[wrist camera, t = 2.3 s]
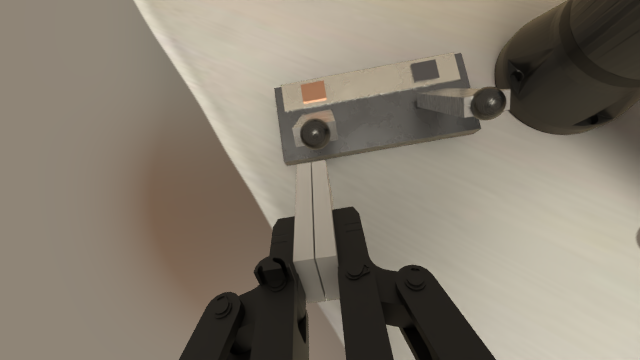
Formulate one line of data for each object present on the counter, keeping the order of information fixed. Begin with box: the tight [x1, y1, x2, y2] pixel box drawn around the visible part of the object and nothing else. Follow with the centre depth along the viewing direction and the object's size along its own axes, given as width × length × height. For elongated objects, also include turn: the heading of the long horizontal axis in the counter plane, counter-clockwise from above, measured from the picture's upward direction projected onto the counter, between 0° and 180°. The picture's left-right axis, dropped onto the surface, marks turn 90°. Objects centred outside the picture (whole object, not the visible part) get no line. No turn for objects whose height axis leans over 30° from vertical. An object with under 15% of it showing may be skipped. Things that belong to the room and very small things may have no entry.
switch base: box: [274, 53, 481, 166], centre depth 36 cm, size 10×24×3 cm, turn 99°
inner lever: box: [416, 87, 510, 120], centre depth 28 cm, size 3×4×13 cm
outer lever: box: [292, 109, 338, 150], centre depth 29 cm, size 3×4×13 cm
